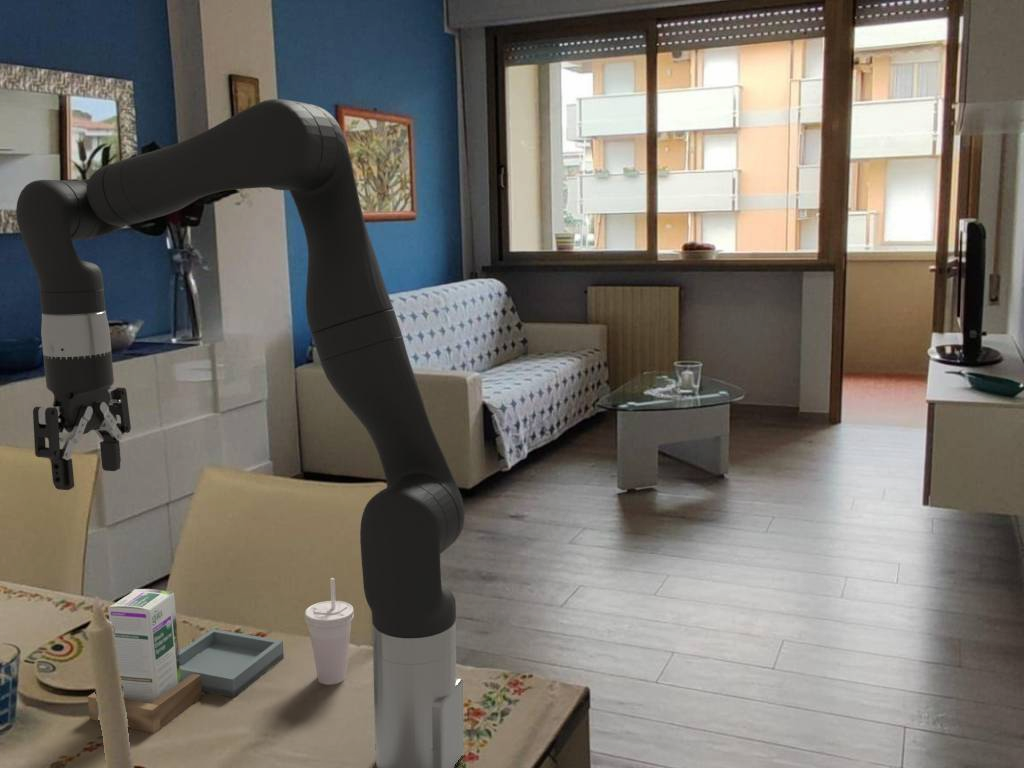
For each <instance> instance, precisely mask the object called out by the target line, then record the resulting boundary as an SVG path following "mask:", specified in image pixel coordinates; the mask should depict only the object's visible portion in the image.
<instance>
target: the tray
mask: <svg viewBox="0 0 1024 768" xmlns="http://www.w3.org/2000/svg"><path fill="white" fill-rule="evenodd" d="M199 653H200V654H199ZM197 654H199V655H198V656H197V657H195V656H196V655H197ZM284 655H285V653H284V641H283V640H279V639H274V638H273V639H272V638H267V637H263V636H262V637H261V636H257V635H256V636H255V635H252V634H246V633H239V632H234V631H233V632H232V631H228V630H222V629H217V628H211V629H210V630H208V631H207V632H206V633H204V634H202V635H201V636H199V637H198V638H196V639H195V640H194V641H192V642H191V643H188V644H187V645H185V647H183V648H181V649H180V650H179V658H180V669H181V681H183V680H184V679H186V678H187V677H189V676H190V675H191V674H198V675H201V688H202V692H205V693H210V694H215V695H220V696H225V697H230V698H236V697H237V696H238V695H239V694H240V693H242V692H243V691H244V690H245V689H246V688H247V687H249V686H250V685H251V684H253V683H254V682H255V681H256V680H258V679H259V678H260V677H261V676H262V675H264V674H266V672H268V671H269V670H270V669H272V668H273V667H275V665H277V664H278V663H279V662H280V661H281V660H283V659H284ZM193 657H195V658H193Z"/></svg>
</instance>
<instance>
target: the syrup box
mask: <svg viewBox="0 0 1024 768" xmlns="http://www.w3.org/2000/svg"><path fill="white" fill-rule="evenodd" d="M107 612H108V621H109V620H110V621H111V622H112V624H113V625H114V628H115V642H116V650H117V658H118V665H119V671H120V677H121V681H122V686H123V692H124V698H126V699H131V700H135V701H140V702H145V703H150V704H151V703H152V702H154V701H155V700H157V699H158V698H159V697H161V696H162V695H164V694H165V693H166V692H168V691H169V690H171V689H172V688H173V687H175V686H176V685H177V684H179V683H180V682H182V681H181V669H180V658H179V651H180V650H179V649H180V648H179V637H178V635H179V634H178V622H177V615H176V614H177V613H176V602H175V594H174V592H173V591H167V590H162V589H154V588H152V589H151V588H138V589H137V588H134V589H133V590H131V592H130V593H129V594H127V595H125V596H123V597H122V598H121V599H119V600H118V601H116V602H115V603H113V604H112V605H110V606H108V608H107Z"/></svg>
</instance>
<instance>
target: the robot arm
mask: <svg viewBox="0 0 1024 768" xmlns="http://www.w3.org/2000/svg"><path fill="white" fill-rule="evenodd" d="M261 188H263V189H264V188H266V189H267V188H270V189H273V190H275V191H276V190H278V191H289V193H290V195H291V197H292V199H293V201H294V204H295V206H296V209H297V213H298V216H299V218H300V221H301V224H302V226H303V231H304V234H305V239H306V246H307V254H308V257H307V275H306V289H305V290H306V292H305V308H306V309H305V310H306V312H305V313H306V320H307V325H308V327H309V331H310V334H311V337H312V340H313V342H314V346H315V350H316V353H317V355H318V358H319V360H320V365H321V367H322V369H323V372H324V375H325V376H326V379H327V380H328V382H329V383H330V385H331V387H332V388H333V390H334V391H335V392H336V393H337V395H338V396H339V398H340V399H341V400H342V401H343V402H344V404H345V405H346V406H347V407H348V408H349V410H350V411H351V412H352V413H353V415H355V416H356V418H357V419H358V420H359V422H360V424H362V426H364V428H365V429H366V431H367V433H368V434H369V435H370V436H369V437H370V438H371V439H372V442H373V445H374V447H375V448H376V451H377V454H378V456H379V457H378V458H379V460H380V463H381V466H382V470H383V472H384V477H385V480H386V481H385V482H386V486H387V487H386V488H384V489H382V490H381V491H379V492H377V493H376V494H374V496H372V497H371V498H370V499H369V501H367V503H366V504H365V507H364V508H363V513H362V516H361V520H360V530H359V531H360V532H359V534H360V535H359V536H360V537H359V539H360V558H361V568H362V569H361V571H362V583H363V592H364V597H365V600H366V602H367V605H368V607H369V609H370V611H371V621H372V622H371V623H372V625H371V626H372V630H371V631H372V660H373V661H372V663H373V664H372V665H373V666H372V667H373V670H372V671H373V672H372V673H373V698H374V700H373V702H374V703H373V704H374V705H373V707H374V708H373V709H374V733H375V734H374V736H375V737H374V738H375V744H374V745H375V747H374V751H375V763H376V764H375V765H376V768H453V767H454V766H455V764H456V763H457V762H458V760H459V759H460V757H461V756H462V754H463V753H465V751H464V750H465V749H464V745H465V744H464V743H465V742H464V681H463V679H462V678H458V677H457V629H456V628H457V626H456V624H457V623H456V622H457V621H456V620H457V610H456V609H457V606H456V605H457V603H456V598H455V595H454V594H453V592H452V591H451V590H450V589H449V588H447V587H446V586H443V585H442V573H441V572H442V571H441V554H442V553H444V551H446V550H447V549H449V548H450V547H451V546H452V545H453V544H454V543H455V542H456V541H457V539H458V538H459V536H460V534H461V533H462V531H463V529H464V525H465V515H466V513H465V512H466V511H465V506H464V501H463V497H462V494H461V491H460V489H459V486H458V484H457V481H456V479H455V478H454V475H453V473H452V471H451V468H450V466H449V463H448V461H447V459H446V457H445V455H444V453H443V451H442V447H441V446H440V444H439V441H438V439H437V437H436V435H435V433H434V430H433V429H434V428H433V427H432V423H431V421H430V420H429V416H428V413H427V410H426V407H425V403H424V401H423V400H424V399H423V398H422V397H423V396H422V394H421V391H420V389H419V388H420V387H419V385H418V381H417V380H416V379H417V378H416V376H415V373H414V370H413V368H412V365H411V361H410V359H409V358H410V357H409V355H408V352H407V349H406V348H407V347H406V343H405V340H404V337H403V334H402V330H401V328H400V324H399V321H398V318H397V316H396V312H395V309H394V306H393V304H392V301H391V298H390V295H389V292H388V290H387V288H386V283H385V282H384V278H383V275H382V272H381V268H380V265H379V262H378V259H377V256H376V252H375V250H374V247H373V243H372V240H371V237H370V235H369V233H368V229H367V226H366V222H365V219H364V215H363V210H362V205H361V202H360V197H359V192H358V187H357V183H356V178H355V174H354V169H353V164H352V159H351V156H350V151H349V147H348V143H347V139H346V137H345V134H344V132H343V130H342V128H341V125H340V124H339V123H338V121H337V120H336V119H335V117H334V116H333V115H332V114H331V113H330V112H329V111H327V110H326V109H324V108H322V107H320V106H318V105H315V104H311V103H306V102H300V101H295V100H288V99H283V98H282V99H280V98H279V99H278V98H272V99H265V100H262V101H260V102H258V103H256V104H254V105H252V106H249V107H248V108H246V109H244V110H242V111H240V112H238V113H236V114H233V115H232V116H231V117H229V118H227V119H226V120H224V121H221V122H220V123H218V124H217V125H215V126H213V127H211V128H209V129H207V130H205V131H203V132H201V133H198V134H196V135H193V136H192V137H189V138H187V139H185V140H182V141H181V142H178V143H175V144H172V145H168V146H165V147H162V148H159V149H156V150H152V151H149V152H144V153H143V154H139V155H135V156H132V157H129V158H126V159H123V160H119V161H116V162H112V163H109V164H106V165H105V166H103V167H100V168H97V170H96V171H94V172H93V173H92V174H91V176H90V177H89V178H86V179H79V180H69V179H68V180H65V179H62V180H59V179H37V180H33V181H31V182H29V183H28V184H26V185H25V186H24V187H23V189H22V190H21V191H20V193H19V196H18V198H17V201H16V206H15V207H16V211H15V215H16V221H17V227H18V230H19V232H20V236H21V238H22V241H23V243H24V246H25V248H26V251H27V254H28V256H29V260H30V262H31V264H32V267H33V269H34V270H35V271H34V272H35V274H36V277H37V280H38V289H39V296H40V297H39V298H40V310H41V328H40V329H41V330H40V333H41V345H42V355H43V356H42V357H43V365H44V367H43V368H44V375H45V385H46V389H47V390H49V391H50V392H51V393H52V394H53V397H54V398H53V402H52V405H51V406H48V407H47V406H35V407H34V408H33V410H32V417H33V418H32V420H33V421H32V422H33V438H34V441H33V442H34V455H35V456H36V457H37V458H45V459H47V460H48V459H49V461H50V465H51V474H52V483H53V485H54V487H55V489H57V490H60V491H61V490H62V491H70V490H72V489H74V487H75V477H74V466H73V458H71V456H72V454H73V452H74V450H75V449H74V448H75V446H76V445H77V444H78V443H80V442H81V440H82V439H83V435H86V434H88V433H90V432H91V431H95V433H96V435H97V436H98V437H99V438H100V440H102V441H100V442H99V446H100V447H99V449H100V460H101V468H102V470H103V471H106V472H107V471H108V472H117V471H118V470H121V459H122V458H121V450H120V449H121V447H120V441H121V440H122V438H123V436H124V434H125V433H126V434H129V433H130V432H131V428H132V427H131V425H132V424H131V418H130V409H129V402H128V401H129V400H128V394H127V388H125V387H120V386H113V385H114V381H115V379H114V365H113V354H112V342H111V340H112V339H111V331H110V325H109V320H108V317H107V316H108V315H107V310H106V299H105V287H104V277H103V272H102V270H101V268H100V266H98V265H97V264H96V263H93V262H90V261H86V260H82V259H80V258H79V256H78V253H77V251H76V248H75V245H74V243H73V242H74V241H87V240H88V241H89V240H93V239H98V238H101V237H105V236H107V235H110V234H113V233H114V232H115V233H116V231H119V230H121V229H122V228H124V227H126V226H129V225H130V226H131V225H135V224H139V223H143V222H146V221H149V220H153V219H157V218H160V217H163V216H167V215H169V214H172V213H174V212H178V211H180V210H182V209H184V208H186V207H187V206H189V205H190V204H193V203H194V202H195V201H197V200H199V199H201V198H203V197H206V196H210V195H212V194H213V195H214V194H216V193H220V192H225V191H233V190H245V189H261ZM117 416H119V417H120V422H118V418H117ZM64 430H65V431H66V432H64ZM46 439H48V447H46V446H47V445H46ZM62 443H63V447H62V448H61V446H62ZM463 755H464V754H463ZM462 757H463V756H462ZM462 757H461V758H462ZM460 760H461V759H460ZM460 760H459V761H460ZM458 763H459V762H458ZM458 763H457V764H458ZM457 764H456V765H457ZM455 767H456V766H455ZM455 767H454V768H455Z"/></svg>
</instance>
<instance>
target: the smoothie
mask: <svg viewBox="0 0 1024 768" xmlns="http://www.w3.org/2000/svg"><path fill="white" fill-rule="evenodd" d="M335 580H336V579H335V578H334V577H331V578H330V581H329V582H330V583H329V584H330V600H326V601H325V600H324V601H320V602H317V603H314V604H312V605H310V606H308V607H307V608H306V610H305V612H304V621H305V622H306V624H307V625H308V631H309V636H310V642H311V648H312V655H313V659H314V666H315V671H316V676H317V677H316V678H317V681H318V683H320V684H323V685H326V686H327V685H328V686H330V685H331V686H332V685H336V684H337V685H338V684H340V683H343V682H344V681H345V679H346V677H347V666H348V658H349V657H348V656H349V648H350V646H349V645H350V636H351V627H352V620H353V619H354V616H355V613H354V606H353V605H351V604H350V603H349V602H347V601H346V602H345V601H342V600H336V582H335Z"/></svg>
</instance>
